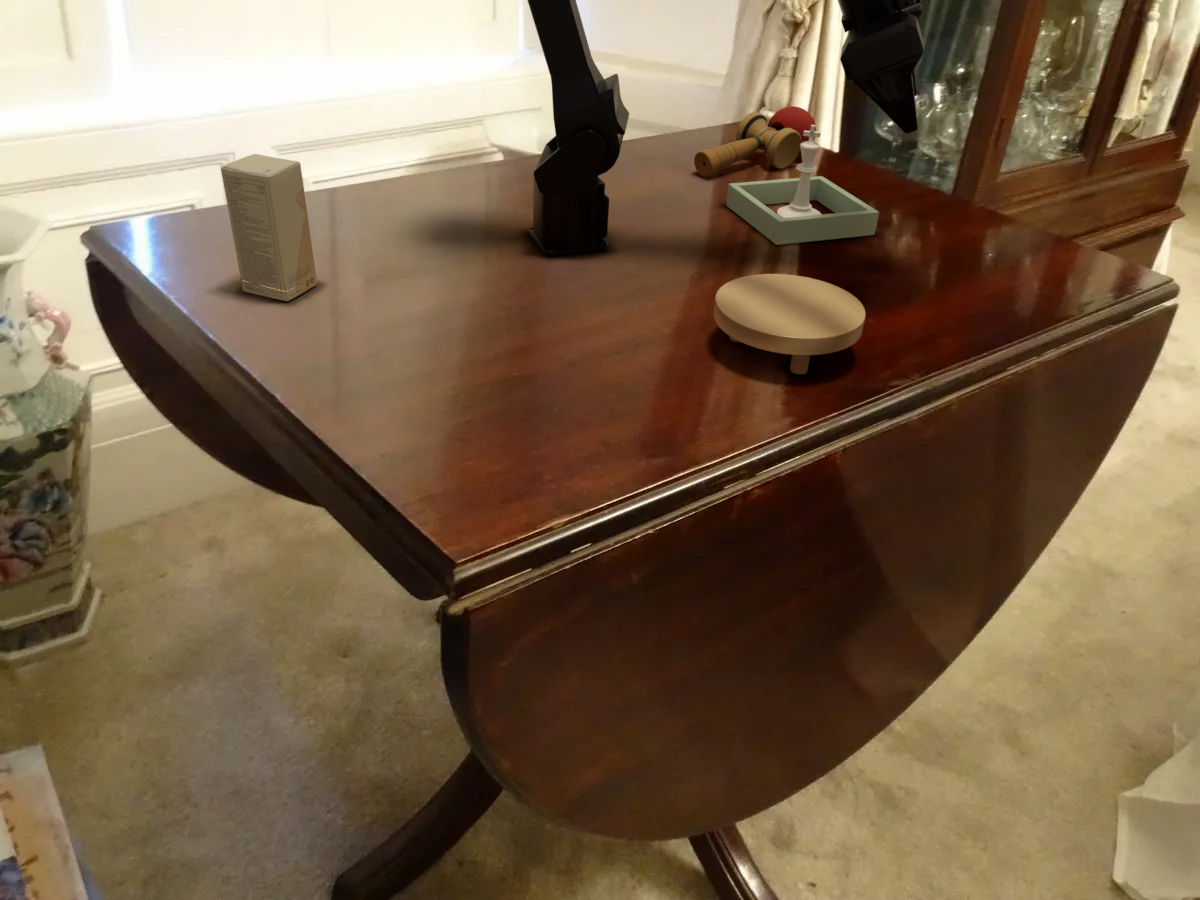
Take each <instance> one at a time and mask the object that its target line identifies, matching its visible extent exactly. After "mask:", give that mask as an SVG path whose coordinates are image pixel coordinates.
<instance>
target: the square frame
mask: <svg viewBox="0 0 1200 900" xmlns="http://www.w3.org/2000/svg"><path fill="white" fill-rule="evenodd" d="M799 180H800V177H795V178H794V177H793V178H781V179H770V180H769V179H768V180H757V181H745V182H731V183H728V185H727V193H726V194H727V195H726V202H725V203H726V204H725V206H726V207H727V208H728V209H730V210H731V211H732V212H734V213H735V214H736V215H737V216H739V217H740V218H741V219H743V220H744V221H745V222H747V223H748V224H749V225H750V226H751V227H753V228H754V229H755V230H756V231H758V232H759V233H761V234H762V235H764V237H765V238H767V239H768V240H770V242H772V243H773V244H774V245H776V246H780V245H790V244H799V243H808V242H810V243H811V242H819V241H829V240H837V239H848V238H856V237H857V238H858V237H868V236H875V234H876V230H877V226H878V225H877V224H878V220H879V214H880V211H878V210H876V209H875V208H874V207H872V206H870V205H868V204H867V203H865V202H864V201H863V200H861V199H860V198H858V197H856V196H854V195H853V194H851V193H850V192H848V191H847V190H845V189H844V188H842V187H840V186H838V185H837V184H836V183H834V182H832V181H830V180H829V179H827V178H826V177H824V176H823V175H817V176H816V175H815V176H810V189H809V202H810V201H816V202H818V203H819V204H820V205H822V206H824V207H826V209H828V210H830V211H831V212H832V213H824V214H821V215H812V216H802V217H791V218H781V217H780V216H779V215H777V212H775V211H774V210H772V209H771V208H769V207H768V206H767V205H777V204H778V205H779V204H788V203H789V204H790V203H791V202H793V200H794V197H795V194H796V191H797V187H798V183H799Z"/></svg>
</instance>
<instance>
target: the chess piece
mask: <svg viewBox="0 0 1200 900" xmlns="http://www.w3.org/2000/svg"><path fill="white" fill-rule="evenodd" d="M815 125H816V124H815ZM815 125H811V129H810V131H805V130H804V134H803V136H809V141H806V142H802V143H801V144H800V149H801V161H802V162H801V163H798V164H797V165H796V168H795V169H796V170H797V171H799V172H800V176H799V178H800V180H799V183H798V187H797V191H796V194H795V197H794V200H793V202H789V204H788V205H783V206H781V207H779V208H778V209H777V210H776V214H777V215H779V216H780V217H781V218H791V217H802V216H812V215H822V213H821V212H820V211H819V210H817V209H816V208H813V205H812V204H811V203H810V201H809V189H810V177H811V173H815V172H817V171H818V169H817V166H816V165H815V164H814V163H813V162H814V160H815V158H816V156H817V154H818V153H819V151H820V148H821V146H820V144H819V143H818V142H815V141H813V138H814V137H815V138H821V131H816V132H815Z"/></svg>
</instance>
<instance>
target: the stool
mask: <svg viewBox="0 0 1200 900" xmlns="http://www.w3.org/2000/svg"><path fill="white" fill-rule="evenodd" d="M714 297H715V298H714V306H713V319H714V322H715V324H716V325H717V326H718V328H719V329H720V330H722V331H723V333H725V334H726V335H727V336H729V339H730V341H731V342H734V343H739V344H740V343H742V344H744V345H747V346H750V347H752V348H756V349H759V350H762V351H766V352H770V353H776V354H782V355H791V358H790V363H789V371H790V372H791V373H792V374H795V375H805V374H807V373H808V370H809V364H810V359H811V356H818V355H827V354H832V353H837V352H840V351H842V350H845V349H848V348H849V347H852V346H854V345H855V344H856V343H857V342H858V341H859V340H860V339H861V337H862V334H863V330H864V326H865V321H866V316H867V314H866V309H865V307H864V304H863V303H862V302H861V301H860V300H859V299H858V298H857V297H856V296H855V295H853V294H852V293H851V292H849V291H848V290H845V289H843V288H842V287H839V286H837V285H835V284H832V283H829V282H827V281H823V280H820V279H816V278H812V277H808V276H804V275H803V276H801V275H795V274H787V273H761V274H751V275H745V276H741V277H737V278H734V279H732V280H729V281H728V282H726V283H724V284H722V286H720V287H719V289H718V290H717V291H716V293H715V296H714Z"/></svg>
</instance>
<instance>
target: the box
mask: <svg viewBox="0 0 1200 900" xmlns="http://www.w3.org/2000/svg"><path fill="white" fill-rule="evenodd" d="M220 172H221V177H222V183H223V188H224V193H225V199H226V205H227V211H228V216H229V221H230V227H231V232H232V233H231V234H232V238H233V243H234V249H235V255H236V260H237V266H238V271H239V277H240V282H241V283H240V284H241V288H242V291H243V292H246V293H249V294H253V295H257V296H262V297H266V298H269V299H275V300H279V301H284V302H289V301H291V300H293V299H295V298H296V297H298V296H300V295H302V294H303V293H306V292H307V291H309V290H310V289H312V288H314V287H315V286H317V285H318V279H317V273H316V266H315V259H314V251H313V245H312V237H311V229H310V223H309V218H308V217H309V216H308V209H307V203H306V195H305V188H304V179H303V173H302V166H301V162H300V161H298V160H291V159H287V158H286V159H285V158H281V157H280V158H279V157H275V156H269V155H264V154H258V153H253V154H249V155H247V156H245V157H242V158H239V159H236V160H234V161H231V162H229V163H226V164H223V165H221V166H220ZM241 279H242V280H245V281H248V282H251V283H254V284H257V285H254V284H251V283H247V282H244V281H241ZM308 279H310V280H308ZM307 280H308V281H307ZM305 281H306V282H305ZM303 282H304V283H303ZM301 283H303V284H301ZM300 284H301V285H300ZM258 285H263V286H266V287H271V288H275V289H280V290H284V291H287V290H290V289H291V288H293V287H295V286H297V287H295V288H294V289H292V290H290V291H288V292H282V291H278V290H274V289H270V288H266V287H262V286H258ZM298 285H299V286H298Z"/></svg>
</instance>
